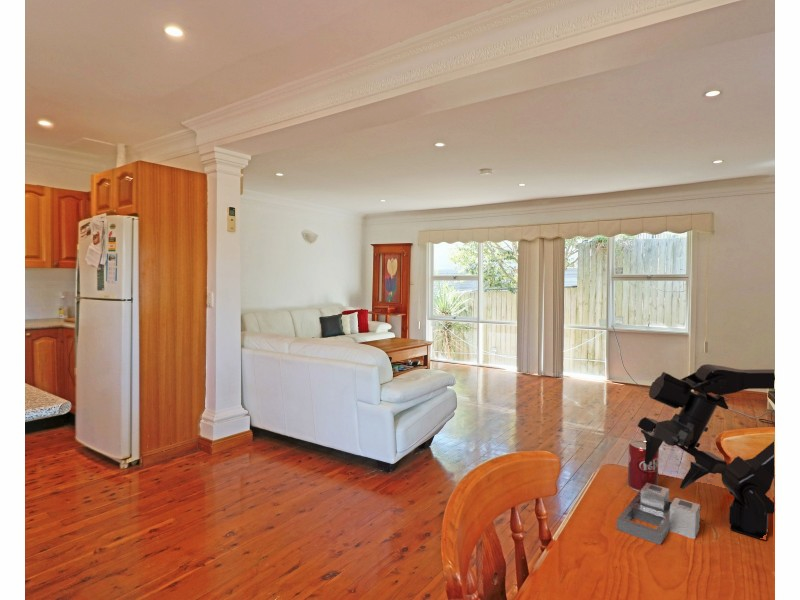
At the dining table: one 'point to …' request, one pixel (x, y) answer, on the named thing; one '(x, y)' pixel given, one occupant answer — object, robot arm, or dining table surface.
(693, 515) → the block
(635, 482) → the soda can
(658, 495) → the nut
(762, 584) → the dining table surface
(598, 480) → the dining table surface
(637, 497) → the grey flat frame
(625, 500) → the dining table surface
